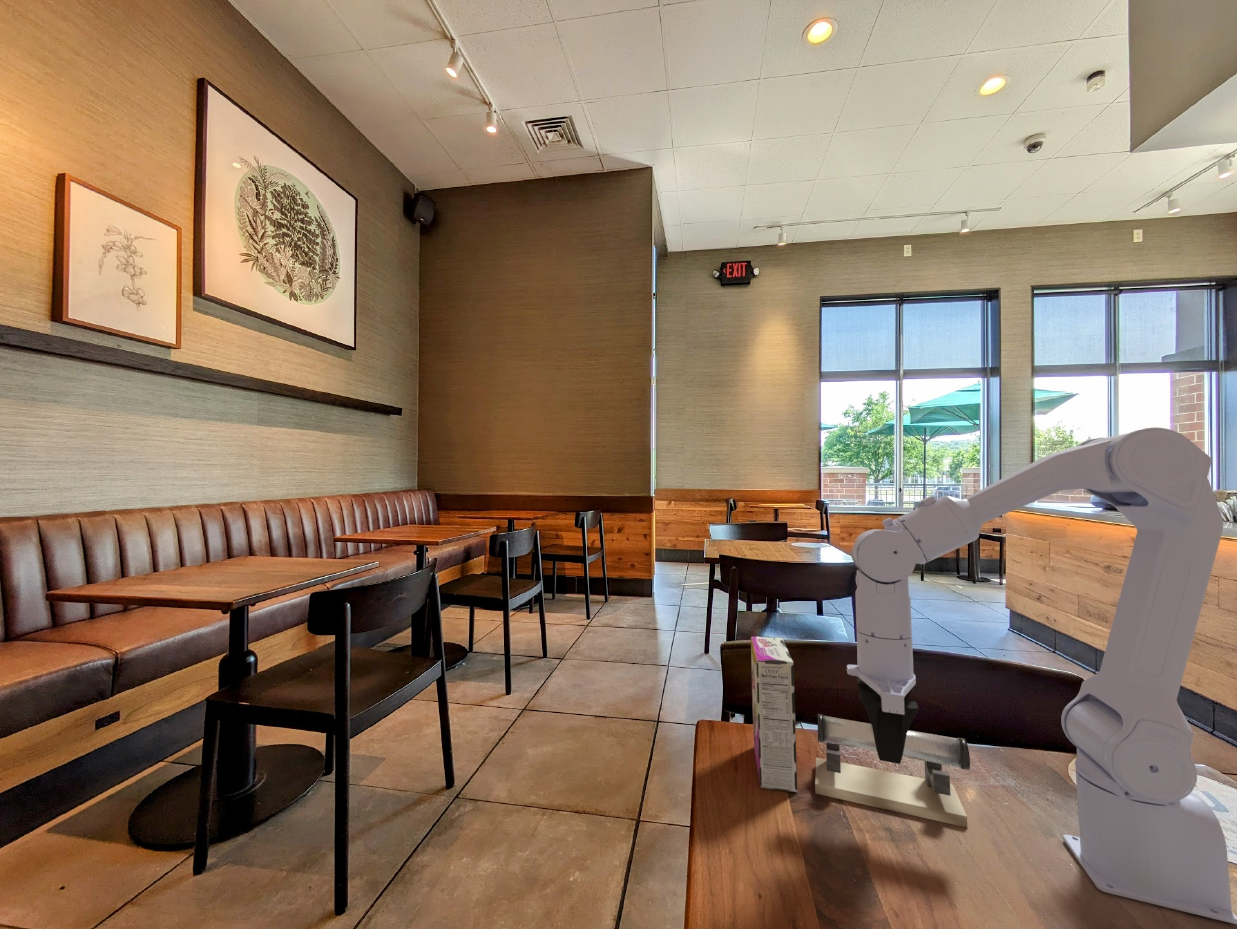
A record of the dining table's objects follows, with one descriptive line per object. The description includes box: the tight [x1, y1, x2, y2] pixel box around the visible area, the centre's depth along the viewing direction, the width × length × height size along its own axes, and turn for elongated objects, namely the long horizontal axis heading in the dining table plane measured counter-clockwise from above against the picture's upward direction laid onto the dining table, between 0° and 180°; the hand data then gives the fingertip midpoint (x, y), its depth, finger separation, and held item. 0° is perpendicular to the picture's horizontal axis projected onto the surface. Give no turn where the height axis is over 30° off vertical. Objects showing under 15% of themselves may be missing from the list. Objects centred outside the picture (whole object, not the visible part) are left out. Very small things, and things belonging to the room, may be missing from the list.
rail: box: [817, 713, 971, 771], centre depth 56 cm, size 15×3×3 cm, turn 67°
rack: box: [814, 742, 968, 829], centre depth 61 cm, size 16×7×6 cm, turn 67°
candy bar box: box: [750, 635, 799, 793], centre depth 67 cm, size 11×5×16 cm, turn 168°
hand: (887, 753), depth 56 cm, fingers closed on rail, 3 cm apart
